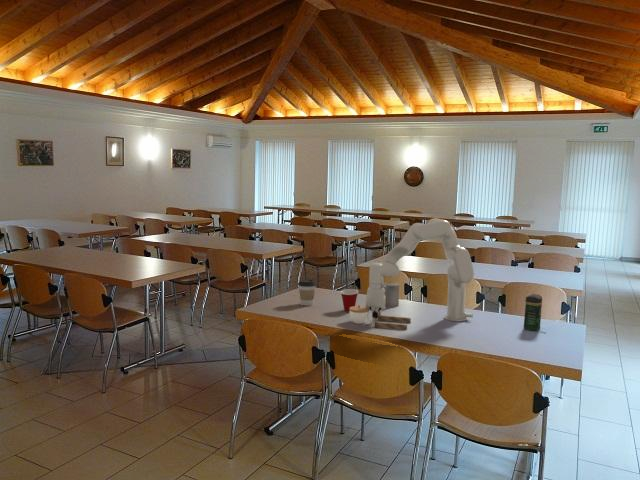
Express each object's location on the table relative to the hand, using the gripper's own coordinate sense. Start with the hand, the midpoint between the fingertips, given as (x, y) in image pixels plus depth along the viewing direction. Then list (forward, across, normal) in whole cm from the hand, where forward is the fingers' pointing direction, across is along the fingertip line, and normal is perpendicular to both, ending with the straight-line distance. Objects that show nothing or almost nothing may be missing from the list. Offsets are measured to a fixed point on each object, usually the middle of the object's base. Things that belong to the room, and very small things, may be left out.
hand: (375, 318), depth 302 cm
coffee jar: (+2, -81, -17) cm, 83 cm away
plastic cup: (+3, +20, -21) cm, 29 cm away
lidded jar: (+3, +9, +1) cm, 9 cm away
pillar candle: (+3, -1, -43) cm, 43 cm away
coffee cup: (+3, +48, -27) cm, 55 cm away
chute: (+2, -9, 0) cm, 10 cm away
